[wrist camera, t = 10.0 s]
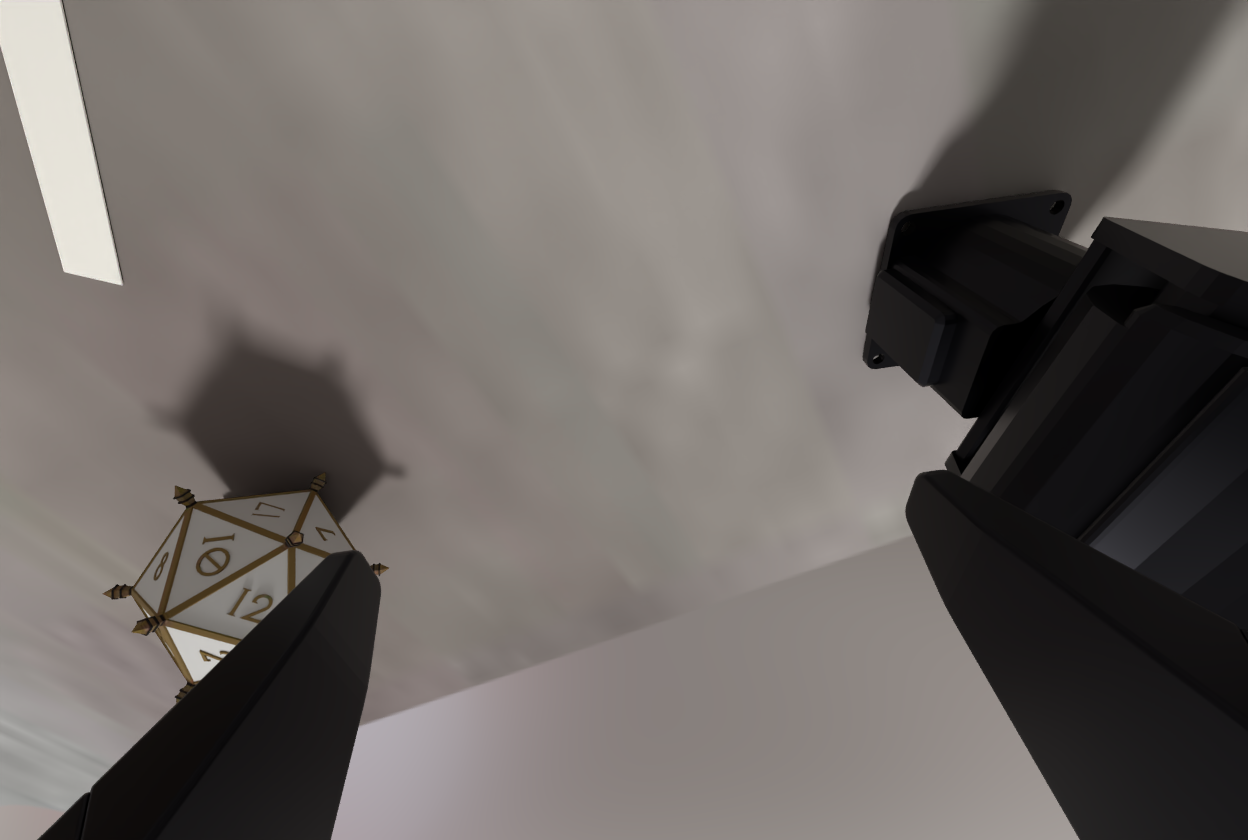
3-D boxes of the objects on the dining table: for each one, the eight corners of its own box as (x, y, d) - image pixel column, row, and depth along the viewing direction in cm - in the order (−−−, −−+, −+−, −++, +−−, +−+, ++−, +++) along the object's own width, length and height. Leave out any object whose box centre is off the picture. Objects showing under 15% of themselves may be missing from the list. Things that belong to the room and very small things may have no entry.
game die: (324, 484, 29) (207, 673, 25) (175, 408, 21) (-24, 657, 17) (451, 526, 25) (340, 751, 21) (326, 452, 18) (122, 772, 14)
